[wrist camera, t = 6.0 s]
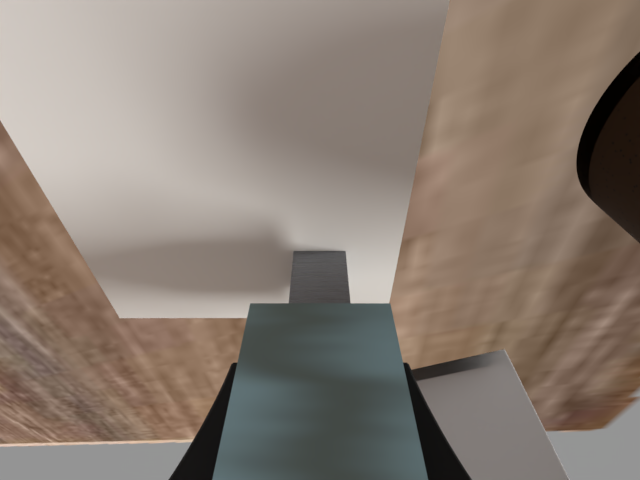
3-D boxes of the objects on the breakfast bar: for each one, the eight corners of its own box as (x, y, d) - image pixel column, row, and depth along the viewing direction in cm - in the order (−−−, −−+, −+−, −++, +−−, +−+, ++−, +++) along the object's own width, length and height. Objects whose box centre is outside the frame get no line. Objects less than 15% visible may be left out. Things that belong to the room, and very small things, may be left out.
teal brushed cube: (264, 376, 15) (237, 576, 10) (250, 303, 12) (198, 542, 7) (375, 376, 15) (403, 576, 10) (390, 303, 12) (441, 542, 7)
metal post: (296, 284, 18) (288, 376, 14) (293, 248, 17) (285, 341, 12) (343, 284, 18) (350, 376, 14) (345, 248, 17) (354, 341, 12)
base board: (128, 302, 21) (119, 318, 20) (-51, -24, 11) (-87, -24, 10) (383, 302, 21) (386, 317, 20) (442, -24, 11) (454, -24, 10)
